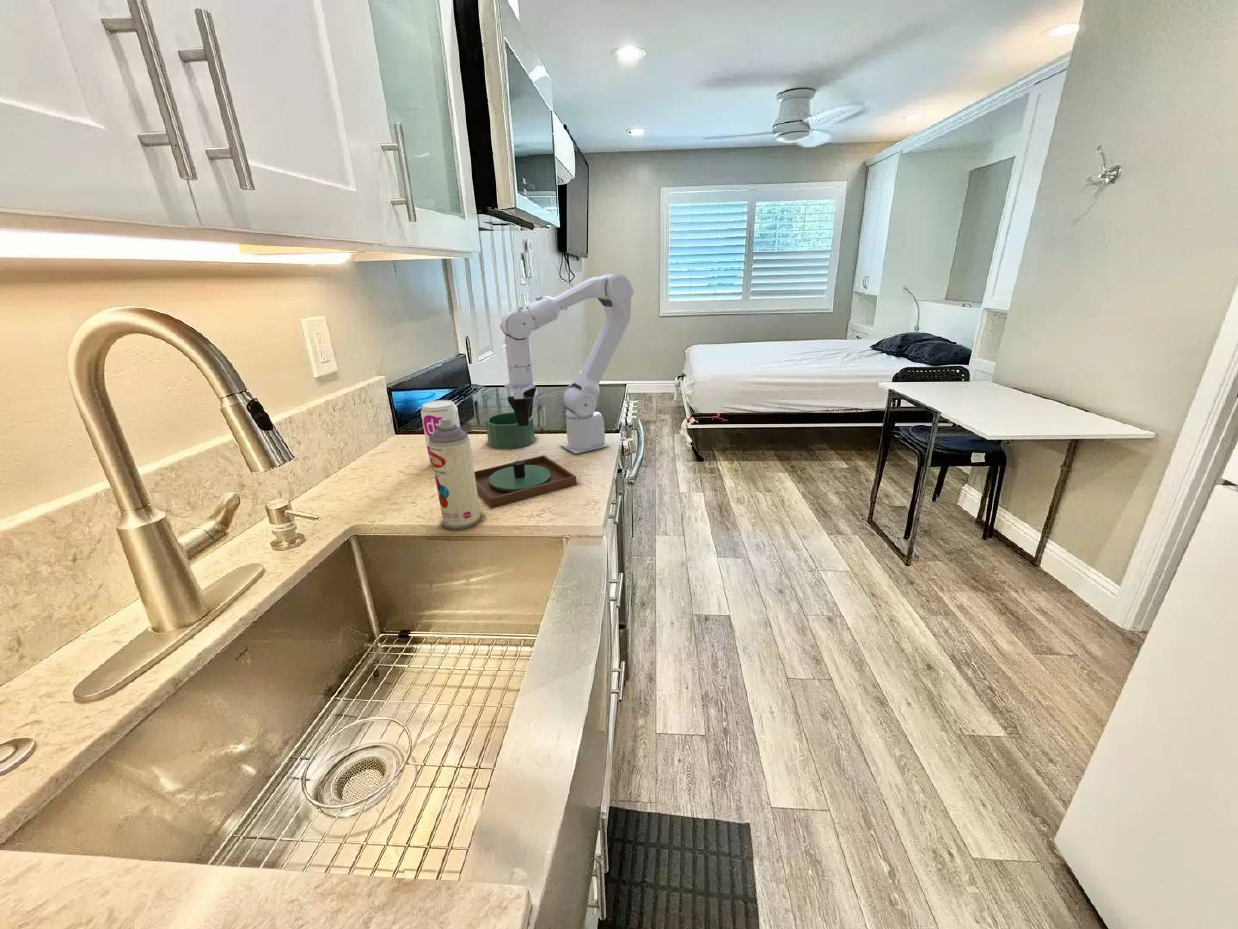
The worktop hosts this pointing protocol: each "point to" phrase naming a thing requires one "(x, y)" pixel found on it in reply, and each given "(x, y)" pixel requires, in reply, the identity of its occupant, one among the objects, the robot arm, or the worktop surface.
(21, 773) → the worktop surface
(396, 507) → the worktop surface
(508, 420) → the tin
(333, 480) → the worktop surface
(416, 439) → the worktop surface
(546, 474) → the tin lid
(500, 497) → the tray
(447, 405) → the supplement can
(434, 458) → the aerosol can
